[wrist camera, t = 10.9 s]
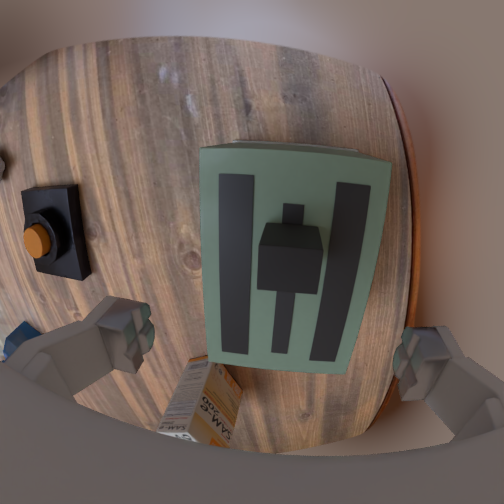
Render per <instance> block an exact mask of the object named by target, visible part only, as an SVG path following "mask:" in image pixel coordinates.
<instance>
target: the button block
mask: <svg viewBox="0 0 504 504" xmlns="http://www.w3.org/2000/svg"><path fill="white" fill-rule="evenodd" d="M21 195H22V202H23V209H24V215H25V225H24V232H25V230H26V229H27V228H29V227H31V226H33V225H35V224H41V225H42V226H43V227H44V228H45V229H46V231H47V233H48V235H49V238H50V243H51V248H50V250H49V252H48V253H46V254H45V255H43V256H42V257H40V258H34V257H33V258H34V262H35V266H36V270H37V272H42V273H46V274H51V275H56V276H61V277H66V278H71V279H76V280H81V281H83V280H84V279H85V278H87V277H88V276H89V275H90V274H91V268H90V264H89V259H88V253H87V248H86V242H85V236H84V230H83V224H82V217H81V209H80V201H79V191H78V184H74V185H58V186H45V187H33V188H29V189H26V190H24V191H21Z"/></svg>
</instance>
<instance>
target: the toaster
mask: <svg viewBox="0 0 504 504" xmlns="http://www.w3.org/2000/svg"><path fill="white" fill-rule="evenodd" d="M358 151H359V150H357V149H350V148H342V147H333V146H324V145H314V144H302V143H289V142H273V141H250V140H233V143H228V144H220V145H214V146H207V147H201V148H200V152H199V177H200V231H201V259H202V280H203V297H204V313H205V327H206V340H207V352H208V361H209V362H215V363H222V364H229V365H236V366H243V367H252V368H260V369H270V370H280V371H292V372H305V373H323V374H345V373H346V370H347V367H348V364H349V361H350V358H351V355H352V352H353V349H354V346H355V343H356V339H357V336H358V333H359V329H360V326H361V323H362V319H363V315H364V312H365V308H366V304H367V300H368V297H369V293H370V289H371V284H372V280H373V276H374V272H375V267H376V263H377V258H378V253H379V248H380V243H381V238H382V232H383V227H384V221H385V215H386V208H387V202H388V195H389V187H390V179H391V171H392V163H391V162H388V161H385V160H382V159H379V158H376V157H372V156H369V155H366V154H362V153H359V152H358ZM267 222H268V223H281V224H293V225H305V226H316V227H318V228H319V232H320V236H321V241H322V245H323V249H324V253H323V260H322V267H321V274H320V280H319V287H318V293H317V295H314V294H302V293H290V292H279V291H268V290H258V289H257V269H258V246H259V242H260V239H261V236H262V233H263V230H264V227H265V224H266V223H267Z"/></svg>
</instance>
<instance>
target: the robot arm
mask: <svg viewBox="0 0 504 504" xmlns="http://www.w3.org/2000/svg"><path fill="white" fill-rule="evenodd" d="M150 315H151V311H150V307H149V305H148V304H147V303H144V302H139V301H134V300H129V299H124V298H119V297H114V296H106V297H105V298H104V299H103V300H102V301H101V302H100V303H99V304H98V305H97V306H96V307H95V308H94V309H93V310H92V311H91V312H90V313H89V314H88V316H87V317H86V318H85V319H84V320H83V321H79V320H78V321H76V322H73V323H71V324H68V325H66V326H63V327H61V328H58V329H55V330H53V331H50V332H48V333H45V334H43V335H40V336H37V337H35V338H32V339H30V340H27V341H25V342H23V343H22V344H21V345H20V346H19V347H18V348H17V349H16V350H15V351H14V352H13V354H12V355H11V356H10V357H9V358H8V359H7V360H6V361H5V362H4V363H3V362H1V361H0V504H504V382H503V381H502V380H500V379H499V378H498V377H496V376H495V375H493V374H492V373H491V372H489V371H488V370H486V369H485V368H483V367H482V366H481V365H479V364H478V363H476V362H475V361H473V360H472V359H471V358H469V357H466V358H465V356H464V354H463V352H462V351H461V349H460V347H459V345H458V343H457V342H456V340H455V338H454V337H453V335H452V333H451V331H450V330H449V328H448V327H446V326H433V327H406V328H405V330H404V331H403V333H402V336H401V338H402V341H403V343H402V344H400V345H399V346H398V347H397V348H396V351H395V353H394V357H393V371H394V375H395V376H396V377H397V378H398V379H399V380H400V382H399V384H398V389H399V393H400V396H401V400H402V401H413V400H424V401H425V402H426V403H427V404H428V406H429V407H430V408H431V409H432V410H433V411H434V412H435V414H436V415H437V416H438V417H439V418H440V419H441V420H442V421H443V422H444V424H445V425H446V426H447V427H448V428H449V429H450V430H451V431H452V432H453V433H454V435H455V437H454V438H453V439H452V440H451V441H450V442H449V443H445V444H440V445H436V446H430V447H425V448H420V449H413V450H406V451H399V452H391V453H381V454H370V455H353V456H300V455H282V454H270V453H260V452H252V451H244V450H237V449H230V448H224V447H219V446H213V445H208V444H203V443H198V442H193V441H189V440H185V439H181V438H177V437H173V436H169V435H165V434H161V433H158V432H154V431H151V430H148V429H144V428H141V427H138V426H135V425H132V424H129V423H126V422H123V421H120V420H118V419H115V418H112V417H109V416H107V415H104V414H102V413H99V412H97V411H94V410H92V409H89V408H87V407H85V406H82V405H80V404H78V403H77V402H76V400H75V398H74V397H73V395H75V394H76V393H78V392H80V391H81V390H83V389H84V388H86V387H88V386H89V385H91V384H92V383H94V382H95V381H97V380H99V379H100V378H102V377H103V376H105V375H106V374H108V373H110V372H111V371H113V370H114V369H117V370H121V371H124V372H128V373H132V374H136V373H137V371H138V369H139V368H140V366H141V364H142V363H143V361H144V359H143V356H142V355H144V354H145V353H147V352H149V351H150V349H151V348H152V346H153V342H154V338H155V330H154V325H153V324H152V323H151V321H150V320H149V319H148V318H149V317H150Z"/></svg>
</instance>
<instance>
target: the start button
mask: <svg viewBox="0 0 504 504" xmlns="http://www.w3.org/2000/svg"><path fill="white" fill-rule="evenodd" d="M24 244H25V247H26V249H27V251H28V253H29V254H30V255H31V256H32V257H34V258H40V257H42V256H43V255H45V254H46V253H48V252H49V250H50V248H51V243H50V238H49V235H48V233H47V231H46V229H45V228H44V227H43V226H42V225H41V224H35V225H33V226H31V227H29V228H27V229H26V230H25V232H24Z"/></svg>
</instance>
